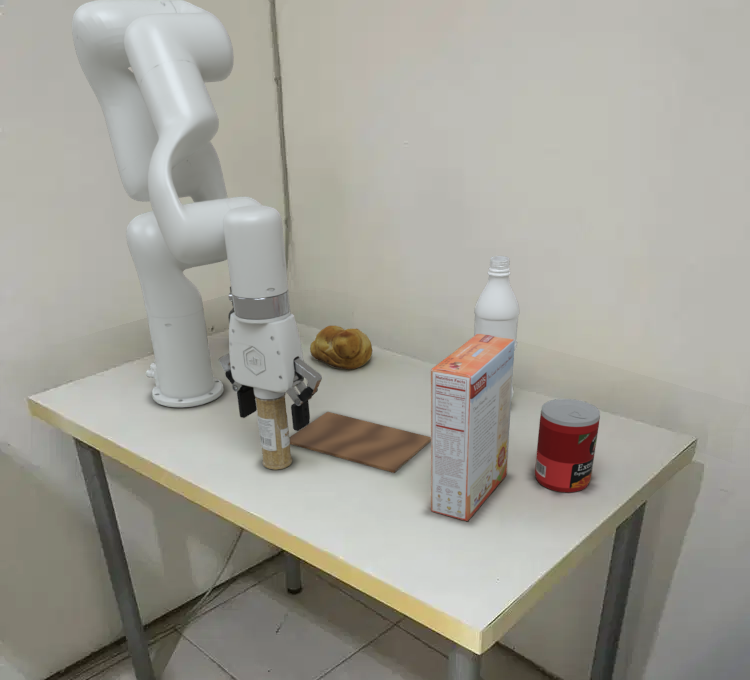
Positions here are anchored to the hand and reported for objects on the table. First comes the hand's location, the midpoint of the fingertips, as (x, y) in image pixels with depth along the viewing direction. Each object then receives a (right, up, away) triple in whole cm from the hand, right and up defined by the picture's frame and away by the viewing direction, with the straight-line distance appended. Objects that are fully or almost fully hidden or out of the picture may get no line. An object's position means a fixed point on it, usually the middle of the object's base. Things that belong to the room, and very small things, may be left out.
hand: (274, 420), depth 112 cm
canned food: (+41, -9, -2) cm, 42 cm away
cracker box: (+28, -11, -4) cm, 30 cm away
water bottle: (+35, +4, +20) cm, 40 cm away
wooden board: (+12, -2, +10) cm, 16 cm away
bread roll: (+8, +15, +39) cm, 43 cm away
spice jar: (0, -6, +4) cm, 8 cm away
